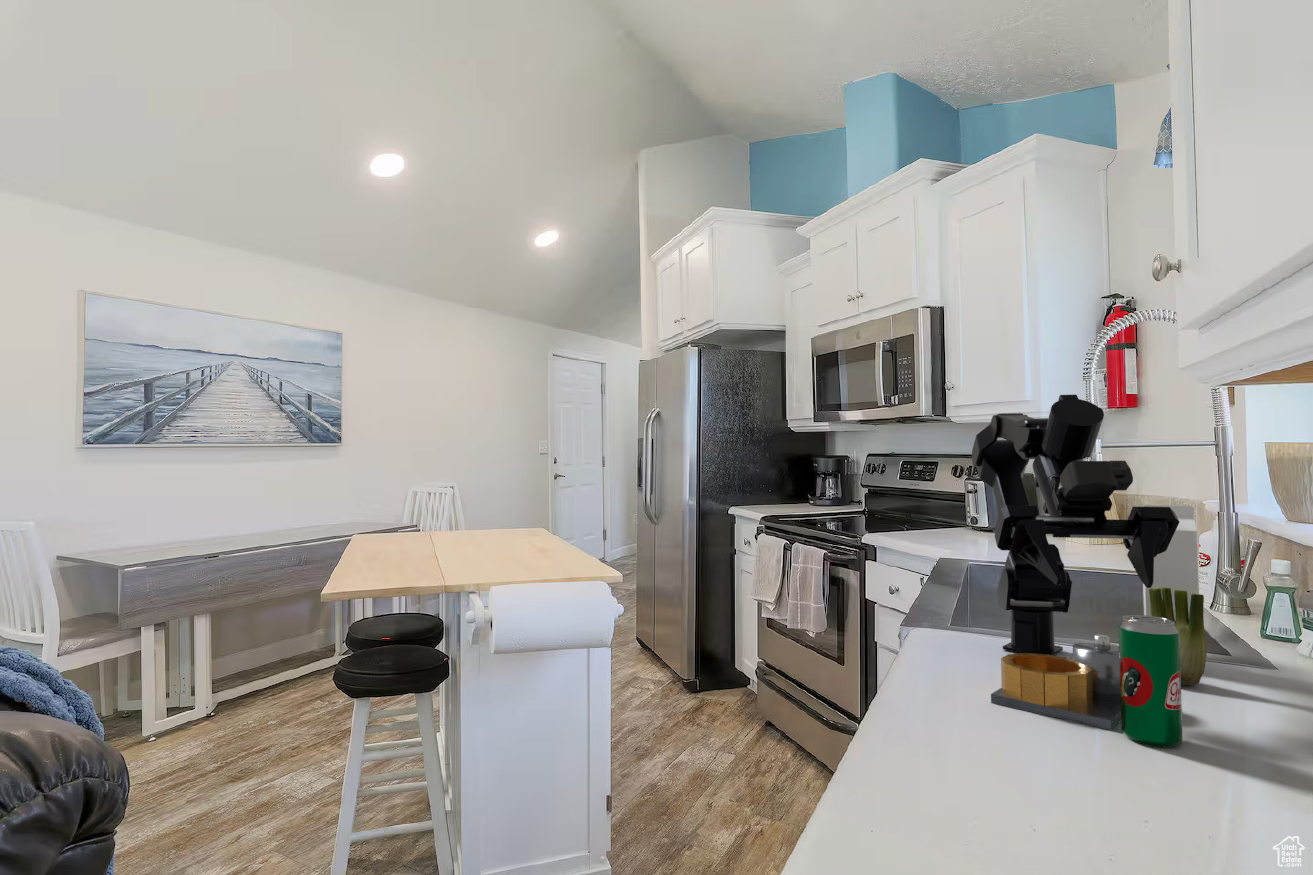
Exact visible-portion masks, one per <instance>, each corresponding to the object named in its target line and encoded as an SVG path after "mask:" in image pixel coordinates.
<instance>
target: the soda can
mask: <svg viewBox="0 0 1313 875" xmlns="http://www.w3.org/2000/svg"><path fill="white" fill-rule="evenodd" d="M1174 624H1175V623H1174V621H1172V620H1169V619H1166V618H1161V617H1155V616H1147V615H1144V614H1126V615H1123V616H1122V621H1121V622H1120V624H1119V625H1118V646H1119V664H1120V701H1121V721H1120V729H1121V731H1122V732H1123V734H1124V735H1125V736H1126V737H1127V738H1128V739H1130V740H1132V741H1133V742H1136V743H1138V744H1142V745H1146V746H1150V747H1155V748H1173V747H1177V746H1178V745H1180V744H1181V742H1183V740H1184V739H1183V738H1184V735H1183V734H1184V733H1183V708H1182V707H1183V706H1182V705H1183V704H1182V701H1183V700H1182V685H1181V667H1180V635H1179V632H1178V631H1177V629H1176V628H1175V626H1174Z"/></svg>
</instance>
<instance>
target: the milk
mask: <svg viewBox="0 0 1313 875" xmlns="http://www.w3.org/2000/svg"><path fill="white" fill-rule="evenodd" d="M1141 507H1170V508H1171V509H1172V510H1173V511H1174V512H1175V514H1176V516H1177V518H1178V520H1179V524H1178V526H1177V529H1176V531H1175V533H1174V535H1173V537H1172V539H1171V541H1170V544H1169V546H1168V548H1167V550H1166V551H1165V552H1163V553H1160V554H1157V556H1156V557H1154V579H1153V585H1152V587H1151V588H1160V589H1162V587H1164V588H1171V594H1172V603H1173V611H1174V619H1175V621H1176V612H1175V596H1174V590H1181V591H1187V596H1188V613H1189V614H1190V601H1191V594H1192V593H1194V594H1200V588H1199V587H1200V585H1199V555H1198V552H1199V550H1198V531H1197V530H1198V529H1197V524H1196V519H1195V509H1194V506H1192V505H1169V504H1168V505H1166V504H1165V505H1164V504H1162V505H1161V504H1143V505H1142V506H1141ZM1149 589H1150V588H1147V587H1146V586H1145V585H1144V584H1143V583H1142V594H1143V595H1142V598H1143V599H1142V600H1143V615H1147V616H1151V603H1150V594H1149ZM1161 594H1162V591H1161ZM1162 601H1163V599H1162Z"/></svg>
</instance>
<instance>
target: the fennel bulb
mask: <svg viewBox="0 0 1313 875" xmlns="http://www.w3.org/2000/svg"><path fill="white" fill-rule="evenodd" d="M1161 591H1162V594H1161ZM1149 594H1150V603H1151V616H1155V617H1161V618H1166V619H1169V620H1172V621H1174V623H1175V624H1174V626H1175V628H1176V629H1177V631H1178V632H1179V635H1180V667H1181V686H1197V685H1199V684H1200V682H1201V679H1202V677H1203V675H1204V673H1205V669H1206V663H1207V662H1206V661H1207V660H1206V659H1207V640H1206V639H1207V638H1206V634H1205V633H1206V632H1205V631H1206V630H1205V621H1204V601H1205V596H1204V594H1201V593H1199V594H1194V593H1192V594H1191V601H1190V614H1189V613H1188V596H1187V591H1181V590H1174V596H1175V612H1176V621H1175V619H1174V611H1173V603H1172V594H1171V588H1164V587H1162V589H1160V588H1150V589H1149ZM1162 599H1163V601H1162Z"/></svg>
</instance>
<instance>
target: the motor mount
mask: <svg viewBox="0 0 1313 875" xmlns="http://www.w3.org/2000/svg"><path fill="white" fill-rule="evenodd" d="M1000 667H1001V668H1000V672H1001V674H1000V675H1001V676H1000V678H1001V679H1000V680H1001V687H1000V688H999V689H997V690H995V691H993V692H992V693H990V703H992V704H995V705H1000V706H1005V707H1009V708H1013V709H1017V710H1022V711H1026V712H1031V713H1034V714H1039V715H1043V716H1048V717H1053V718H1056V719H1060V720H1064V721H1069V722H1074V723H1079V724H1083V725H1087V726H1091V727H1096V728H1099V729H1103V730H1104V729H1105V730H1109V731H1112V730H1113V729H1114V728H1115V727H1116V726H1117V725H1118V724H1119V723H1121V701H1120V664H1119V645H1118V646H1117V645H1114V644H1111V637H1110V635H1105V634H1094V635H1093V642H1077V643H1074V644H1072V658H1068V657H1064V656H1057V655H1046V654H1032V653H1020V652H1018V653H1009V654H1006V655H1004V656H1002V657H1001V658H1000Z"/></svg>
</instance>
